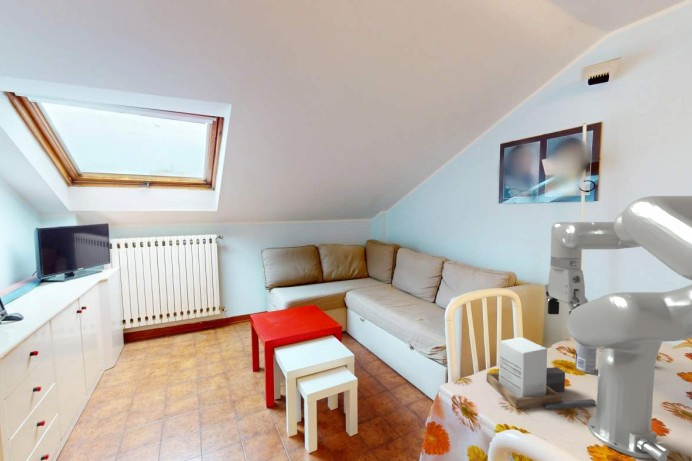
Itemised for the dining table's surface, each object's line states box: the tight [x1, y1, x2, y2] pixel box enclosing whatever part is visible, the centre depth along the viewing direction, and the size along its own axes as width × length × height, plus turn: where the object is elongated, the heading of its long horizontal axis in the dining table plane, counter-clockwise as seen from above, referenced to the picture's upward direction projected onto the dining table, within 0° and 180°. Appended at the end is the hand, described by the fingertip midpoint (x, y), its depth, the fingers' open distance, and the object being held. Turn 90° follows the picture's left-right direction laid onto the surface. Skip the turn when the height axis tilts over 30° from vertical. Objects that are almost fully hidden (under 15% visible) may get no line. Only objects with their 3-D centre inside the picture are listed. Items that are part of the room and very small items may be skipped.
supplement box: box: [498, 336, 548, 398], centre depth 89 cm, size 9×9×15 cm
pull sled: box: [486, 366, 566, 410], centre depth 90 cm, size 14×20×6 cm
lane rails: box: [542, 398, 597, 411], centre depth 90 cm, size 17×15×2 cm
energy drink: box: [574, 341, 597, 374], centre depth 102 cm, size 5×5×12 cm
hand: (563, 319), depth 91 cm, fingers open, 9 cm apart
